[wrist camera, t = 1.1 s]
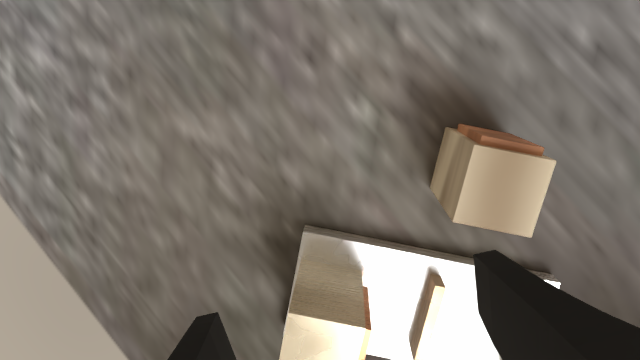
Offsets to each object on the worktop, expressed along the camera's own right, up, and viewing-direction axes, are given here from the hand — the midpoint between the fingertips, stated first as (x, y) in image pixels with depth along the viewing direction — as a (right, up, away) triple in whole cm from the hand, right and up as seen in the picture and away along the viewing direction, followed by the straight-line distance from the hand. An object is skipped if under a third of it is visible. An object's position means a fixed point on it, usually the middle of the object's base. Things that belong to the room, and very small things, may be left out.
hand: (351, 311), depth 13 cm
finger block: (+8, +5, +13) cm, 16 cm away
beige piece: (+5, -4, +16) cm, 17 cm away
